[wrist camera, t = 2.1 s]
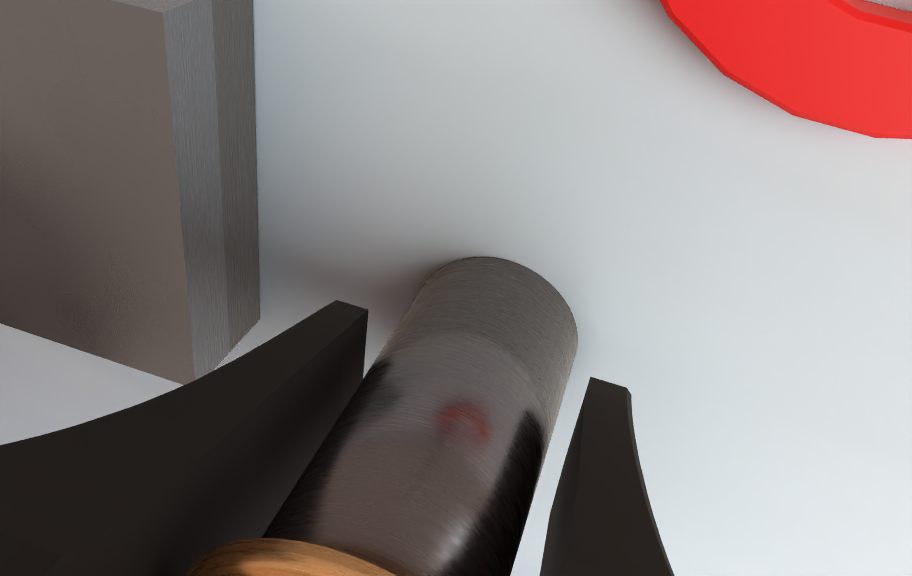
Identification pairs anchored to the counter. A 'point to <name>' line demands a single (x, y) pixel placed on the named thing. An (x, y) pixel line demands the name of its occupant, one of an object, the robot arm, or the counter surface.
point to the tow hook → (812, 57)
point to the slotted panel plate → (130, 178)
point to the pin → (430, 440)
